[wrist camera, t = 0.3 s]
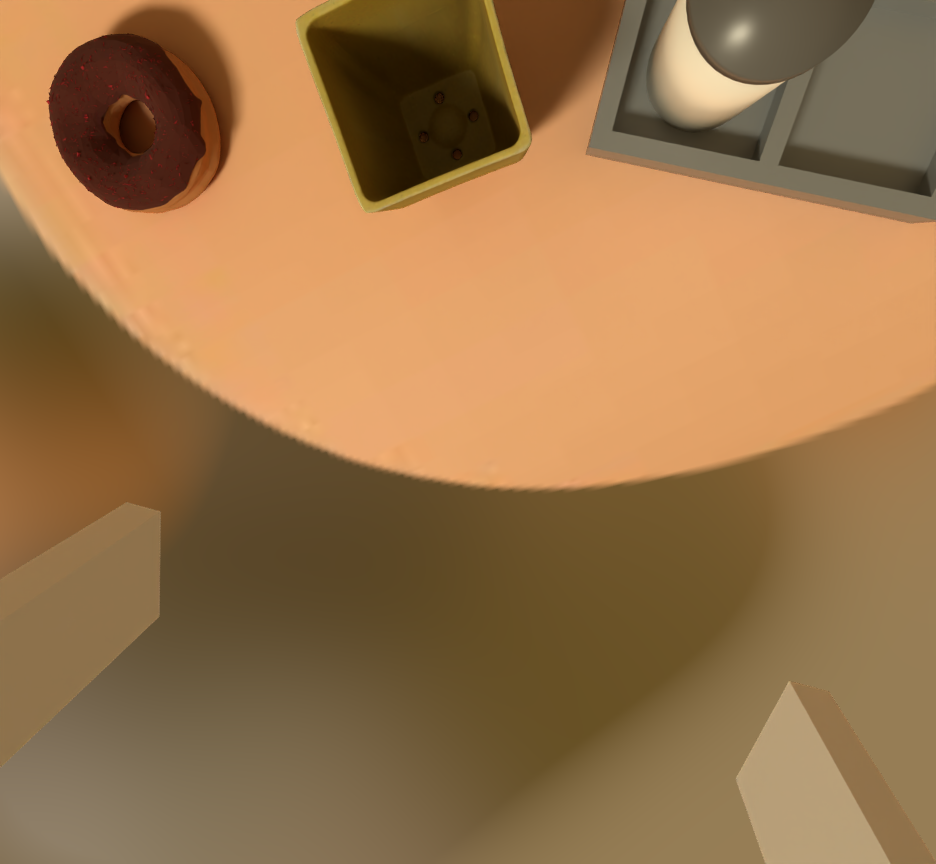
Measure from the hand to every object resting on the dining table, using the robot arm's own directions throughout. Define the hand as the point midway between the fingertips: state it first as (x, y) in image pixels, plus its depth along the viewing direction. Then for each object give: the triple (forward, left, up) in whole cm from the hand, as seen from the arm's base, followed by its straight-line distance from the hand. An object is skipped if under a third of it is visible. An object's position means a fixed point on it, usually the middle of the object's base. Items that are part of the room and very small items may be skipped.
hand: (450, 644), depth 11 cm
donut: (-10, -27, -28) cm, 40 cm away
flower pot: (-14, -8, -28) cm, 32 cm away
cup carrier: (-19, +10, -27) cm, 35 cm away
